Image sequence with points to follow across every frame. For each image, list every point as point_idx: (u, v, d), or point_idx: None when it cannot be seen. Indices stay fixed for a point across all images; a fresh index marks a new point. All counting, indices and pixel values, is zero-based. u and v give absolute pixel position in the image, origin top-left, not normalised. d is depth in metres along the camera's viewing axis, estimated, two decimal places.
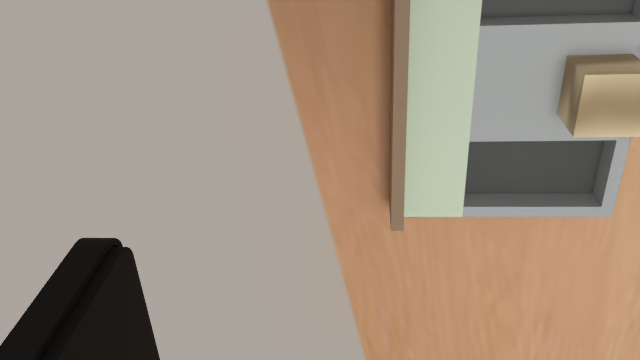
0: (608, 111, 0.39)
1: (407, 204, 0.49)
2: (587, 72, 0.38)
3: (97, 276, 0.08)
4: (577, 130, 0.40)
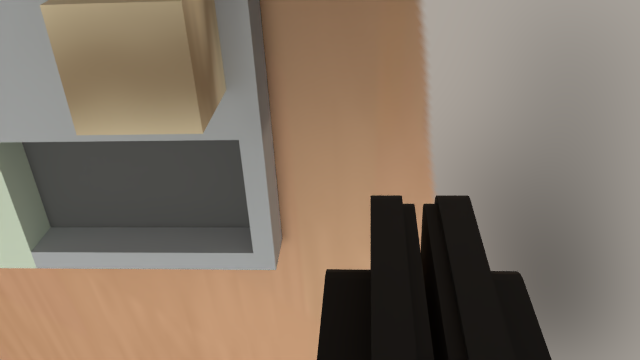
0: (119, 83, 0.19)
1: None
2: (56, 0, 0.19)
3: (409, 227, 0.09)
4: (79, 121, 0.20)
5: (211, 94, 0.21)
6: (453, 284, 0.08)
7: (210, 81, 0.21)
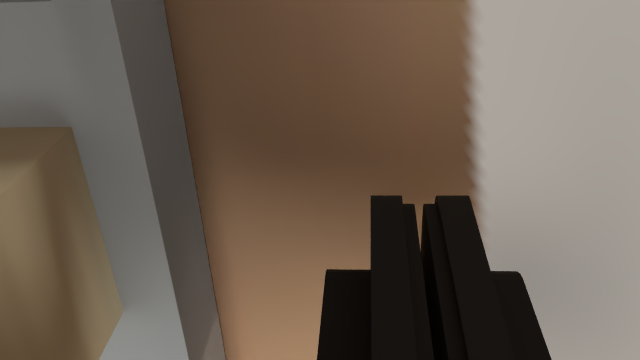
0: None
1: None
2: None
3: (409, 227, 0.09)
4: None
5: None
6: (453, 284, 0.08)
7: (67, 344, 0.11)
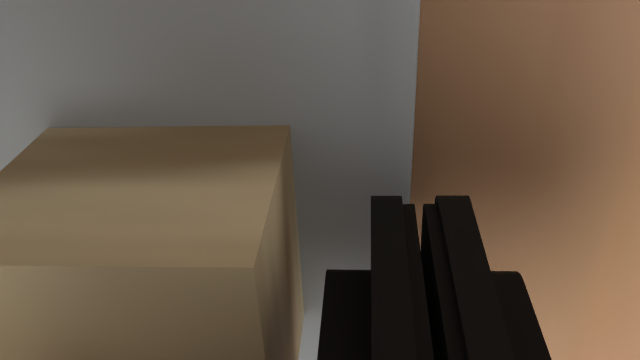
0: None
1: None
2: None
3: (409, 227, 0.09)
4: None
5: None
6: (453, 284, 0.08)
7: (289, 348, 0.10)
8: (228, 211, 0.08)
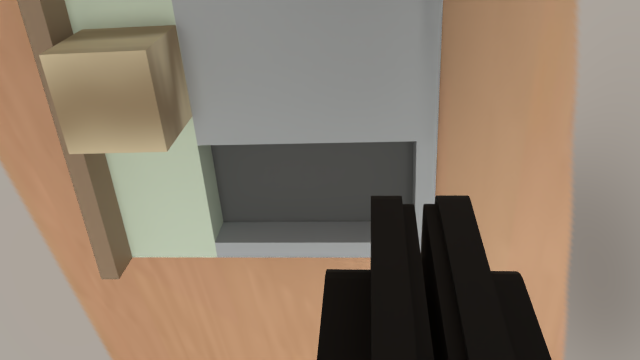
0: (100, 113, 0.25)
1: (134, 239, 0.33)
2: (52, 51, 0.24)
3: (409, 227, 0.09)
4: (70, 143, 0.26)
5: (176, 120, 0.27)
6: (453, 284, 0.08)
7: (175, 110, 0.26)
8: (143, 42, 0.24)
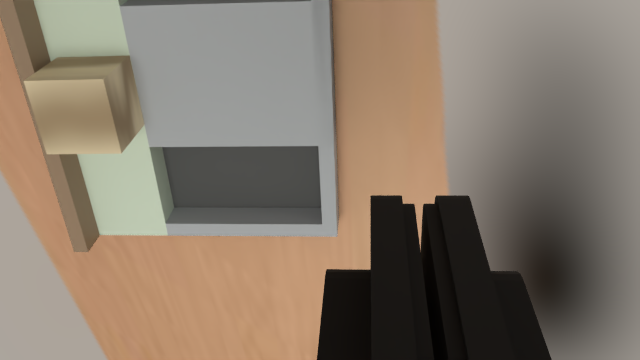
0: (70, 124, 0.33)
1: (101, 220, 0.41)
2: (33, 77, 0.32)
3: (409, 227, 0.09)
4: (48, 146, 0.34)
5: (129, 129, 0.35)
6: (453, 284, 0.08)
7: (128, 121, 0.35)
8: (102, 71, 0.32)
